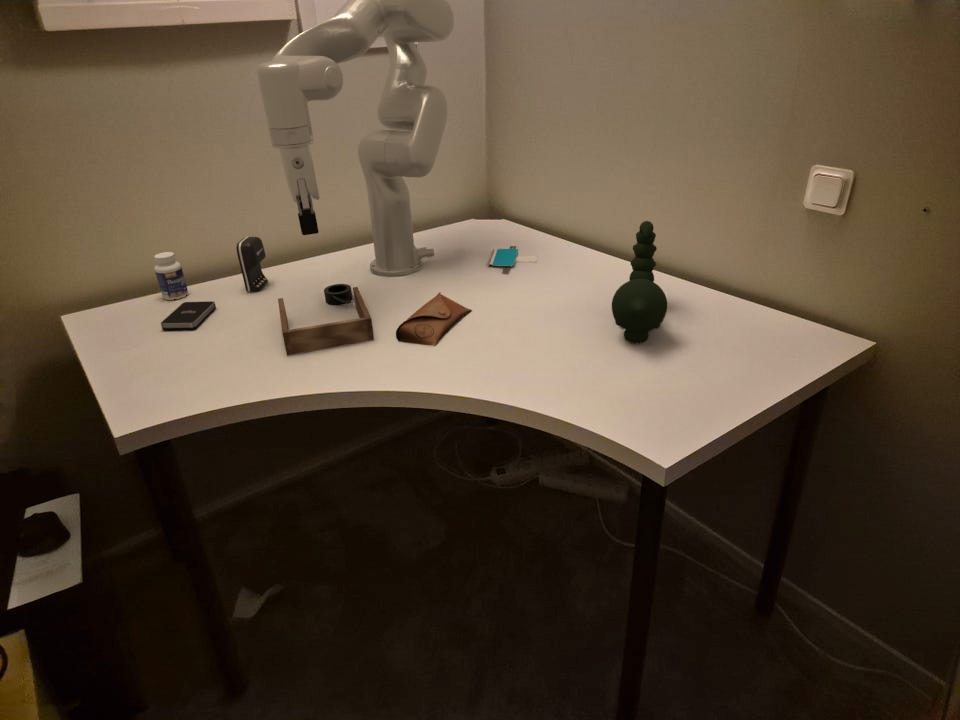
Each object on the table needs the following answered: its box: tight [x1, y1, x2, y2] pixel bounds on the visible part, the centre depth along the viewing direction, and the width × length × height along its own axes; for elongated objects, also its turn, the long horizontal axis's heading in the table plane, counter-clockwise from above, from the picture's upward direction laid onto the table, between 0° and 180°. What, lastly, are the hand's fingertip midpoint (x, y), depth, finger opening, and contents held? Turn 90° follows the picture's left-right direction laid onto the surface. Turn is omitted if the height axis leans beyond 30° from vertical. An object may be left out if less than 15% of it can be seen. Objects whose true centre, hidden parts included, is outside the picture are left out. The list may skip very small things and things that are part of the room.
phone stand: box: [487, 245, 538, 275], centre depth 154 cm, size 20×12×2 cm, turn 172°
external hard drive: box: [160, 300, 217, 332], centre depth 129 cm, size 7×11×2 cm, turn 178°
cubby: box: [277, 286, 375, 356], centre depth 122 cm, size 16×17×4 cm
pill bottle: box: [154, 251, 189, 301], centre depth 139 cm, size 5×5×10 cm
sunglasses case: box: [395, 291, 473, 347], centre depth 123 cm, size 18×7×7 cm
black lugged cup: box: [323, 283, 354, 307], centre depth 135 cm, size 8×10×3 cm
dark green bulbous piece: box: [611, 220, 668, 344], centre depth 115 cm, size 10×19×26 cm
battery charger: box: [236, 235, 269, 293], centre depth 141 cm, size 7×4×11 cm, turn 176°
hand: (310, 232), depth 124 cm, fingers closed
